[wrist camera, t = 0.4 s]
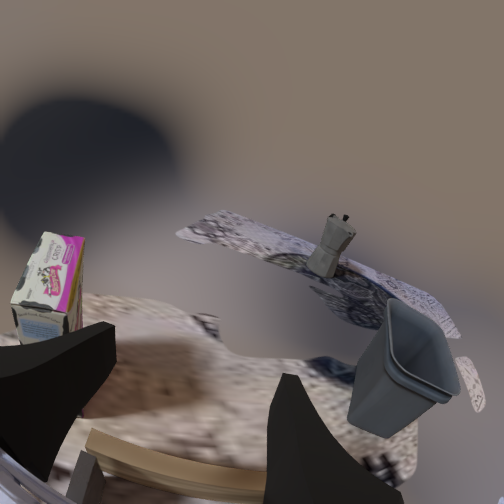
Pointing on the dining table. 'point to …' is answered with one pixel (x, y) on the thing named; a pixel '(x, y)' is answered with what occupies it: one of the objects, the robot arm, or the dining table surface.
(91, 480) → the bookend
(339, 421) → the dining table surface
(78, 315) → the candy bar box
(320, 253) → the coffeepot
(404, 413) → the storage bin
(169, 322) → the dining table surface
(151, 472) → the shelf wall
